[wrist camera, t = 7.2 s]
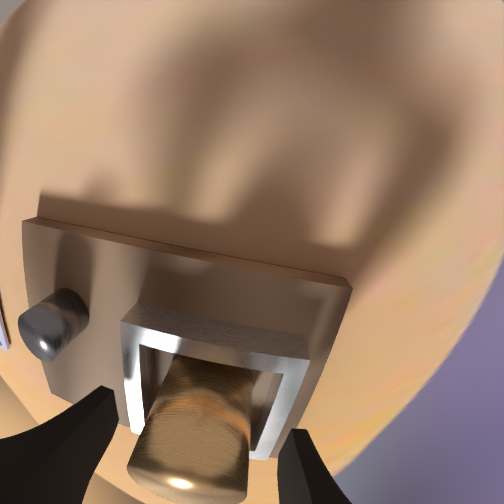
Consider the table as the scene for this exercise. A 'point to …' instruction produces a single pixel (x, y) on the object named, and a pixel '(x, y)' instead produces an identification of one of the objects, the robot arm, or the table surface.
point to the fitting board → (174, 322)
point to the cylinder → (197, 435)
